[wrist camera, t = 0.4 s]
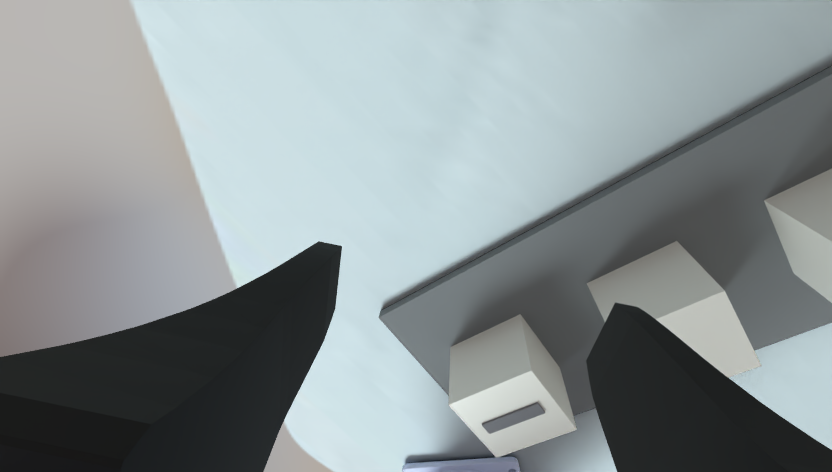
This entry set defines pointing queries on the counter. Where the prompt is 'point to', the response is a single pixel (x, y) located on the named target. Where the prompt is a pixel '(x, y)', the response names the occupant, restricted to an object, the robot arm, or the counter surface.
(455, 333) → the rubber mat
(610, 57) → the counter surface
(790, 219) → the two bar block
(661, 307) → the plain block
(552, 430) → the one bar block
